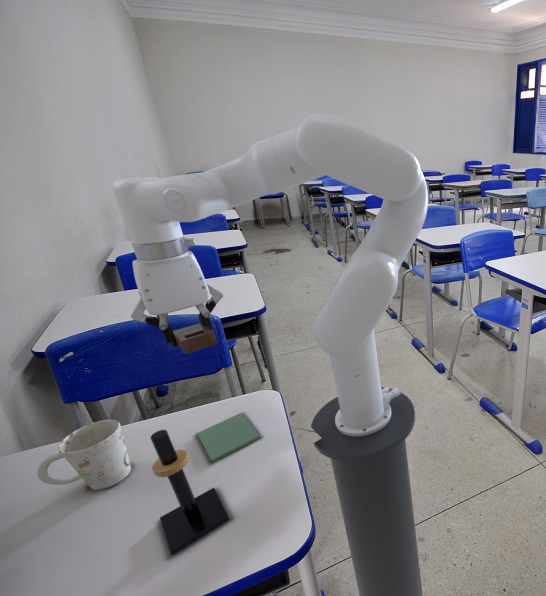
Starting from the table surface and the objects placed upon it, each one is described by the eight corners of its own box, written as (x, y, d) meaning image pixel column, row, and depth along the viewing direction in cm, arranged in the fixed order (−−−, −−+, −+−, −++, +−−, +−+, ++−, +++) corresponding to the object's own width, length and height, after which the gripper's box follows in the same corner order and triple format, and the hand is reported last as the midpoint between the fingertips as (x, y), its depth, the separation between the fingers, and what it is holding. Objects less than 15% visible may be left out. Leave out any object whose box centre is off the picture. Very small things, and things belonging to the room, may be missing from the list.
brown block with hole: (217, 343, 68) (213, 331, 68) (185, 354, 65) (181, 341, 64) (203, 334, 77) (199, 323, 76) (175, 343, 74) (170, 331, 73)
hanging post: (215, 491, 67) (184, 409, 60) (229, 519, 61) (197, 433, 55) (161, 521, 61) (120, 435, 55) (171, 555, 56) (127, 464, 49)
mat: (242, 414, 86) (241, 412, 86) (260, 437, 79) (259, 435, 78) (197, 435, 80) (197, 433, 80) (212, 462, 73) (211, 460, 73)
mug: (137, 480, 70) (116, 438, 66) (44, 517, 63) (15, 472, 59) (140, 453, 76) (122, 413, 72) (56, 483, 70) (31, 442, 66)
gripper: (209, 238, 75) (231, 320, 82) (97, 256, 64) (134, 349, 71) (220, 243, 70) (243, 330, 77) (101, 264, 59) (140, 363, 66)
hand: (190, 338), depth 74 cm, fingers closed on brown block with hole, 5 cm apart
